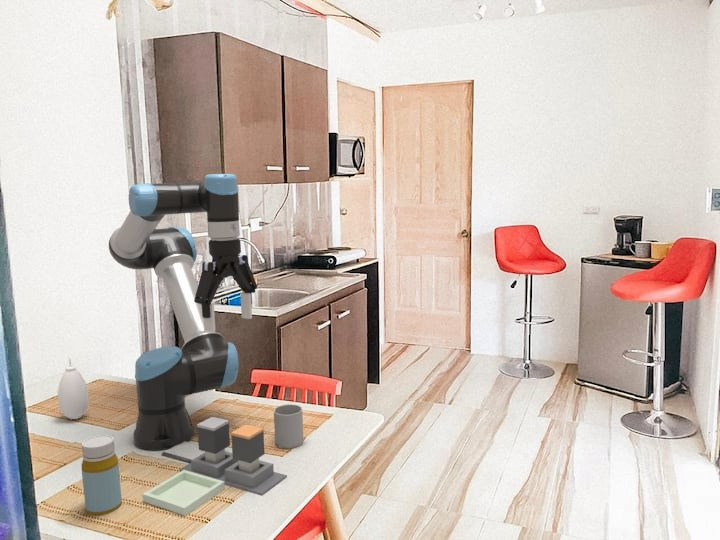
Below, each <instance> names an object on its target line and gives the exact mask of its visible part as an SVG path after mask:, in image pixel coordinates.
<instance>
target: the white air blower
mask: <svg viewBox="0 0 720 540" xmlns="http://www.w3.org/2000/svg"><path fill="white" fill-rule="evenodd" d="M68 364H69V366H66V367H65V371H64V372H63V374H62V376H61V378H60V382H59V385H58V391H57V402H58V406H59V407H58V408H59V410H60V411H61V413H62V414H63V416H64V417H66V418H68V419H69V420H72V419H77V420H79V419H80V418H82V417H83V416H84V414H86V412H87V409H89V407H88V406H89V402H90V392H89V388H88V385H87V383H86V380H85V378H84V377H83V375H82V374H81V373H80V371H79V370H78V369H77V367H76V366H75V365H72V361H71V358H68ZM78 418H79V419H78Z"/></svg>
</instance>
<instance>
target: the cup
mask: <svg viewBox="0 0 720 540" xmlns="http://www.w3.org/2000/svg"><path fill="white" fill-rule="evenodd" d="M303 415H304V414H303V407H302V406H300V405H298V404H282V405H279V406H276V407H274V408H273V423H274V424H273V427H274V442H275V445H276V446H277V447H279V448H281V449H287V450H288V449H294V448H298V447H300V446H301V445H303V443H304V419H303Z"/></svg>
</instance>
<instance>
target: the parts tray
mask: <svg viewBox="0 0 720 540" xmlns="http://www.w3.org/2000/svg"><path fill="white" fill-rule="evenodd" d="M224 490H226V485H225V482H224V481H221V480H217V479H214V478H211V477H207V476H204V475H200V474H197V473H193V472H190V471H187V470H183V471H179V472H178V473H176V474H174V475H173V476H171V477H169V478H167V479H165V480H164V481H162V482H160V483H159V484H157V485H156V486H153V487H152V488H150V489H149V490H146V491H145V492H143V493H142V502H143V503H146V504H148V505H151V506H155V507H158V508H160V509H163V510H166V511H169V512H172V513H175V514H179V515H181V516H184V517H186V516H188V515H189V514H190V513H192V512H193V511H195V510H196V509H198V508H199V507H201V506H202V505H203V504H205V503H207V502H209V500H212V498H214V497H215V496H217V495H218V494H220V493H221V492H223V491H224Z"/></svg>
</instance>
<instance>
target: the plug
mask: <svg viewBox="0 0 720 540" xmlns="http://www.w3.org/2000/svg"><path fill="white" fill-rule="evenodd" d="M230 434H231V449H232V452H231V453H232V455H233V459H236V460H239V470H240V471H244V472H247V473H251V474H253V473H254V472H256V471H257V470H258V469H260V466H259V460H260V458H261V457H262V456H264V455H265V453H266V451H265V437H264V436H265V433H264V427H258V426H256V425H254V426H253V425H250V424H244V425H242V426H240V427H239V428H237V429H236V430H233V431H232V432H231V433H230Z"/></svg>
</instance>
